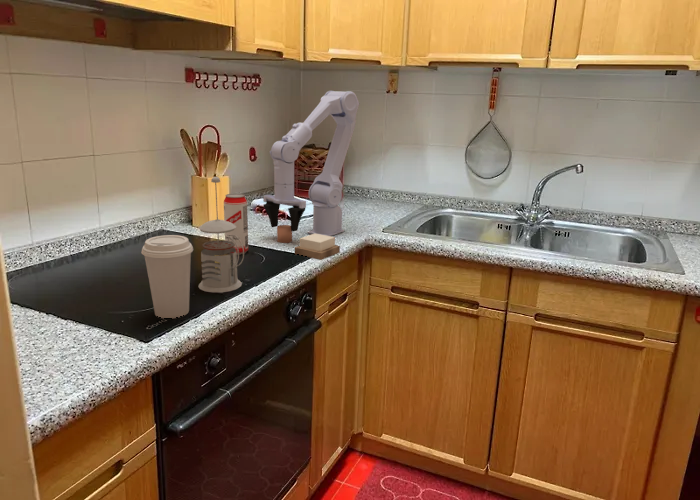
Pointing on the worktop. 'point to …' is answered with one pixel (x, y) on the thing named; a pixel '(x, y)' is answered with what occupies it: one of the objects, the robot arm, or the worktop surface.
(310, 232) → the robot arm
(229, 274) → the french press
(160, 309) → the coffee cup
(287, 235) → the terracotta cylinder
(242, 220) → the beer can
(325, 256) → the walnut base slab
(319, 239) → the cream slab
